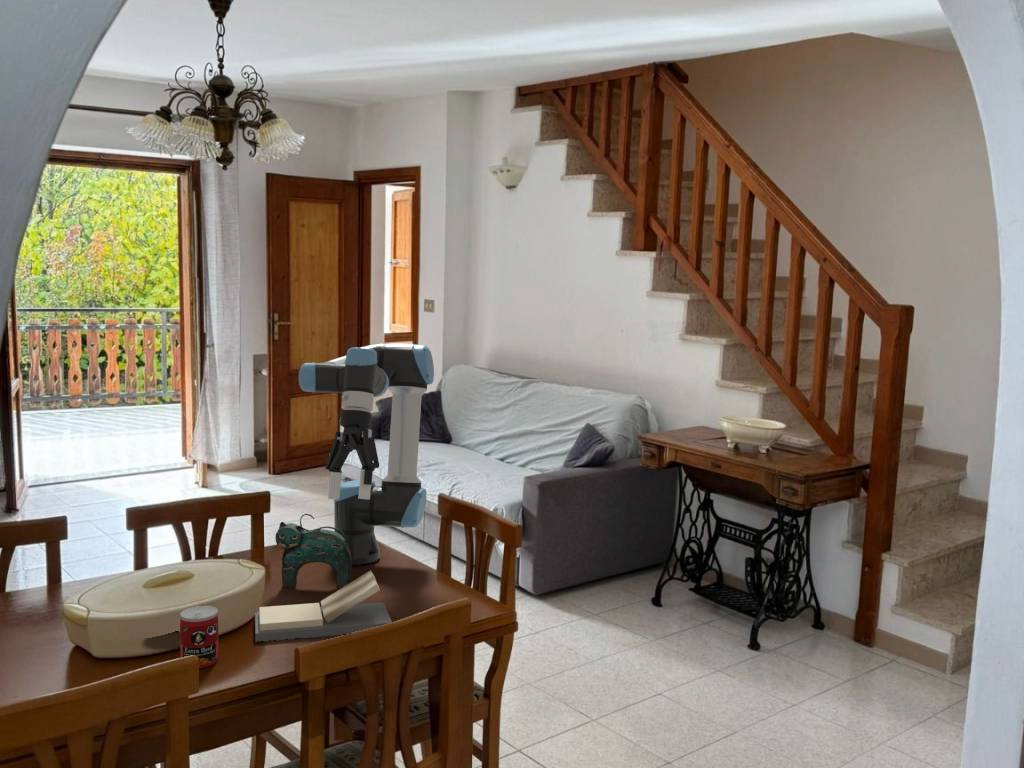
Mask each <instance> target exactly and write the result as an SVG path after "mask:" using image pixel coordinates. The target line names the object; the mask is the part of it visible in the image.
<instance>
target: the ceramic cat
mask: <svg viewBox="0 0 1024 768" xmlns="http://www.w3.org/2000/svg"><path fill="white" fill-rule="evenodd" d="M305 516H309V517H311V518H312V519H313V520H314V519H315V517H314V516H313V515H312V514H309V513H304V514H302V515H301V516H300V519H299V520H300V521H299V524H297V523H293V522H289V523H285V522H284V521H281V522H280V523H279V527H278V530H276V531H277V532H276V533H275V538H274V540H275V543H276V545H277V547H279V548H281V549H283V554H282V556H281V557H282V558H281V586H282V587H281V588H282V589H293V588H295V587H296V585H297V581H298V579H297V578H298V573H299V571H300V570H301V568H302V567H303V566H305V565H307V564H311V563H312V564H313V563H321V564H326V565H329V566H331V568H332V570H333V571H334V574H335V578H336V585H337V588H338V589H341V588H343V587H344V586H346V585H348V584H349V583H351V576H352V575H351V574H352V567H353V566H352V559H351V553H350V549H349V546H348V544H347V539H346V536H345V534H344V533H343V532H342V531H341V530H340V529H337V528H335V526H334V527H333V526H321V527H318V528H315V529H306V528H305V527H303V526H302V525H303V524H302V519H303V517H305ZM330 529H331V530H330ZM335 530H338V531H339V532H341V533H342V534H343V535H344V537H345V539H346V540H345V539H344V538H343V537H342V536H341V535H340V534H338V533H337V532H335Z"/></svg>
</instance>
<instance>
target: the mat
mask: <svg viewBox="0 0 1024 768" xmlns="http://www.w3.org/2000/svg"><path fill="white" fill-rule="evenodd" d="M320 605H321V604H320V602H313V603H312V602H311V603H300V604H299V603H298V604H286V605H270V606H260V607H258V609H259V611H256V612H257V613H255V612H254V615H255V616H254V621H255V623H254V627H255V629H254V630H255V634H254V635H255V639H254V640H255V643H261V642H260V641H264V642H272V641H273V640H276V641H285V639H288V640H296V639H295V638H300V639H308V638H309V639H310V638H311V639H312V638H322V637H332V636H333V637H334V636H344V635H343V634H347V633H352V632H355V631H359V630H363V629H367V628H371V627H376V626H381V625H384V624H387V623H390V622H392V623H393V621H392V618H391V616H390V614H389V612H388V609H387V607H386V604H385V602H383V601H382V602H381V601H380V602H369V603H368V602H367V603H359V604H357V605H355V606H354V607H352V608H351V609H349V610H347V611H346V612H344V613H343V614H341V615H339V616H338V617H336V618H335V619H333V620H332V621H330V622H328V623H327V621H326V620H325V618H324V614H323V610H322V606H320ZM269 640H271V641H269ZM257 641H259V642H257ZM273 642H274V641H273Z"/></svg>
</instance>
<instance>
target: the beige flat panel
mask: <svg viewBox="0 0 1024 768" xmlns="http://www.w3.org/2000/svg"><path fill="white" fill-rule="evenodd" d="M380 591H381V589H380V587H379V584H378V582H377V579H376V577H375V575H374V573H373V572H372V570H369V571H367V572H365V573H364V574H362V575H360V576H359V577H357V578H356V579H354V580H353V581H350V583H349V584H348V585H346V586H344V587H343V588H339V589H338V590H336V591H335V592H332V593H331V594H330V595H328V596H326V597H325V598H323V599H322V600H320V605H321V607H322V610H323V614H324V618H325V620H326V621H327V623H328V622H330V621H332V620H333V619H335V618H336V617H338V616H339V615H341V614H343V613H344V612H346V611H347V610H349V609H351V608H352V607H354V606H355V605H357V604H361V603H362V602H364V601H365V600H367V599H368V598H370V597H372V596H373V595H374V594H376V593H377V592H380Z"/></svg>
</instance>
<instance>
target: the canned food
mask: <svg viewBox="0 0 1024 768" xmlns="http://www.w3.org/2000/svg"><path fill="white" fill-rule="evenodd" d="M179 636H180V637H179V643H180V644H179V645H180V658H181V657H184V656H190V655H197V656H198V657H199V660H200V668H199V669H204V667H205V668H208V667H210V665H211V666H213V665H214V664H216V663H217V661H218V659H219V611H218V608H217V607H215V606H211V605H205V606H195V607H191V608H188V609H185V610H183V611H182V612H181V613H180V632H179ZM212 664H213V665H212Z"/></svg>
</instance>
